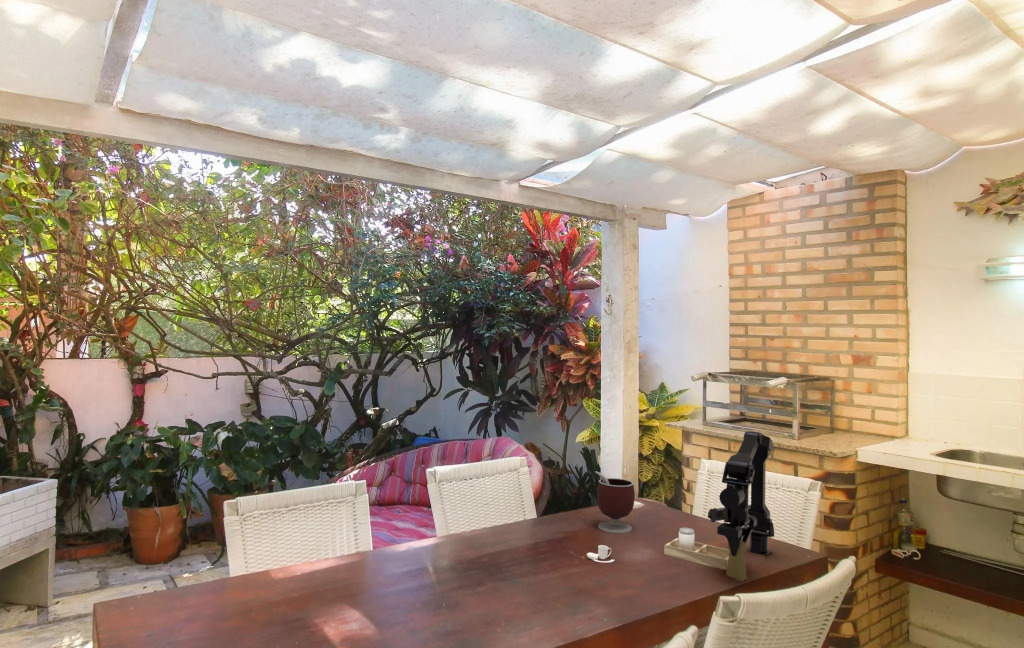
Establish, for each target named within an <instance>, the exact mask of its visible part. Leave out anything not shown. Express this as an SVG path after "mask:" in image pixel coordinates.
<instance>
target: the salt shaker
mask: <svg viewBox="0 0 1024 648" xmlns="http://www.w3.org/2000/svg"><path fill="white" fill-rule="evenodd" d="M695 535H696V534H695V530H694V528H690V527H679V530H678V538H679V543H678V548H682V549H686V550H690V551H694V542H695Z"/></svg>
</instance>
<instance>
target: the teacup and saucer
mask: <svg viewBox="0 0 1024 648" xmlns="http://www.w3.org/2000/svg"><path fill="white" fill-rule="evenodd" d="M597 549H598V550H597V553H594V552H587V553H586V557H587V558H588V559H591V560H592V561H594V562H596V563H604V564H605V563H613V562H615V561H616V558H613V557H610V555H611V554H612V549H611V548H610V547H609V546H607V545H605V544H604V545H603V544H600V545H598V546H597ZM609 550H610V552H608V551H609ZM608 553H609V554H608ZM608 557H610V560H606V559H607V558H608ZM598 559H600V560H598ZM601 560H602V561H601ZM605 560H606V561H605Z"/></svg>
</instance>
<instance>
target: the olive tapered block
mask: <svg viewBox="0 0 1024 648" xmlns="http://www.w3.org/2000/svg"><path fill="white" fill-rule="evenodd" d="M727 548H728V550H730V547H729V543H728V542H727ZM746 550H747V543H746V544H745V542H743V541H742V542H741V544H740V547H739V549H738V552H737V554H736V556H732V554H731V551H730V553H729V559H728V565H727V570H725V571H726V572H725V574H726V576H727V577H728V578H732V579H735V582H744V580H745V581H747V580H746V579H748V578H747V568H746V567H747V566H746V558H745V553H746V552H747V551H746Z"/></svg>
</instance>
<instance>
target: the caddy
mask: <svg viewBox="0 0 1024 648" xmlns="http://www.w3.org/2000/svg"><path fill="white" fill-rule="evenodd" d="M678 543H679V537H677V538H675V539H672V540H671V541H670V542H667V543H665V544H664V546H663V547H664V548H663V550H664V551H663V552H664V553H663V554H664V556H668V557H672V558H676V559H680V560H684V561H688V562H693V563H695V564H699V565H700V564H701V565H704V566H707V567H712V568H716V569H719V570H724V571H727V565H728V559H729V553H730V550H729V549H727V548H724V547H720V546H714V545H711V544H706V543H701V542H698V541H694V551H690V550H686V549H682V548H678Z"/></svg>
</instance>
